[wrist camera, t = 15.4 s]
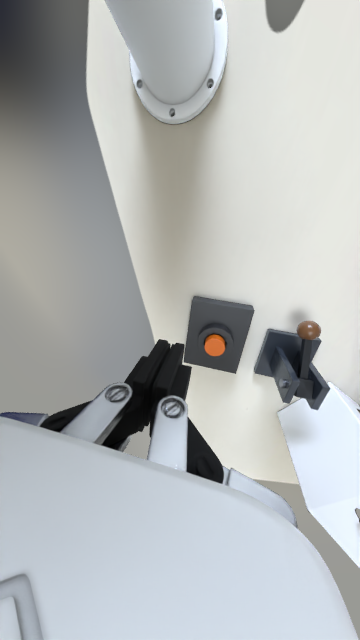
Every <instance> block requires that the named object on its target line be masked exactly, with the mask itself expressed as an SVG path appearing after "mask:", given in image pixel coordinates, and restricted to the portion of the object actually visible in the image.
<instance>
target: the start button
mask: <svg viewBox="0 0 360 640" xmlns="http://www.w3.org/2000/svg"><path fill="white" fill-rule="evenodd" d="M205 351H206V352H207V353H208V354H209V355H211V356H219V355H221V354H223V352H224V351H225V341H224V339H223V338H222V337H221V336H220V335H216V334H213V335H210V336H208V337H207V338H206V341H205Z"/></svg>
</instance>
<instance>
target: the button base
mask: <svg viewBox="0 0 360 640" xmlns="http://www.w3.org/2000/svg"><path fill="white" fill-rule="evenodd" d="M253 314H254V309H253V307H252V306H251V305H245V304H239V303H233V302H227V301H221V300H214V299H208V298H202V297H196V296H194V298H193V300H192V305H191V312H190V320H189V327H188V334H187V341H186V348H185V355H184V362H185V363H190V364H194V365H199V366H203V367H208V368H212V369H217V370H222V371H226V372H231V373H235V374H236V371H237V368H238V364H239V361H240V358H241V354H242V351H243V348H244V344H245V341H246V337H247V334H248V331H249V327H250V324H251V321H252V317H253ZM213 334H216V335H220V336H221V337H222V338H223V339H224V341H225V351H224V352H223V354H221V355H219V356H211V355H209V354H208V353H207V352H206V351H205V341H206V338H207V337H208V336H210V335H213Z"/></svg>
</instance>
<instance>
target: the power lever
mask: <svg viewBox="0 0 360 640" xmlns="http://www.w3.org/2000/svg"><path fill="white" fill-rule="evenodd" d="M297 334H298V336H299V337H300V338H302V344H301V352H300V359H299V367H298V374H297V377H298V379H299V381H300V383H299V385H298V387H297V390H296V392H295V394H294V396H296V397H300V398H304V399H309V400H312V394H313V386H314V381H312V380H309V379H308V372H309V364H310V356H311V349H312V341H313V340H315V339H317V338H318V337H319V336H320V334H321V328H320V326H319V325H318V324H317V323H315V322H313V321H304V322H302V323H300V324H299V325H298V327H297Z"/></svg>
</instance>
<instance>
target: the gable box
mask: <svg viewBox="0 0 360 640" xmlns="http://www.w3.org/2000/svg"><path fill="white" fill-rule="evenodd" d="M327 384H328V386H329V387H330V391H329V392H328V394H327V396H326V397H325V399H324V401H323V402H322V404H321V406H320V407H319V409H318V410H314V409H311V408H310V406H309V404H308V402H307V401H306V399H304V398H301V399H300V400H298V401H296V402H295V403H293V404H291V405H289V406H288V407H286V408H284V409H283V410H281V411H279V412H278V413H277V414H278V417H279V420H280V424H281V427H282V430H283V433H284V436H285V440H286V443H287V446H288V449H289V452H290V456H291V459H292V462H293V465H294V468H295V471H296V475H297V478H298V481H299V484H300V487H301V491H302V494H303V497H304V500H305V503H306V507H307V510H308V512H309V513H311V514H312V515H313V516H314V517H315V518H316V520H317V521H318V522H319V523H320V524H321V525H322V526H323V527H324V528H325V530H326V531H327V532H328V533H329V534H330V535H331V536H332V538H333V539H334V540H335V541H336V542H337V543H338V544H339V545H340V547H341V548H342V549H343V550H344V551H345V552H346V553H347V554H348V556H349V557H350V558H351V559H352V560H353V561H354V562H355V563H356V565H357V566H358V567H359V568H360V519H359V517H358V515H357V513H356V509H357V508H358V509H360V406H359V405H358V404H357V403H356V402H354V401H353V400H352V399H351V398H349V397H348V396H347V395H346V394H344V393H343V392H342V391H341V390H339V389H338V388H337V387H336V386H334V385H333V384H332V383H331V382H329V383H327Z"/></svg>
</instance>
